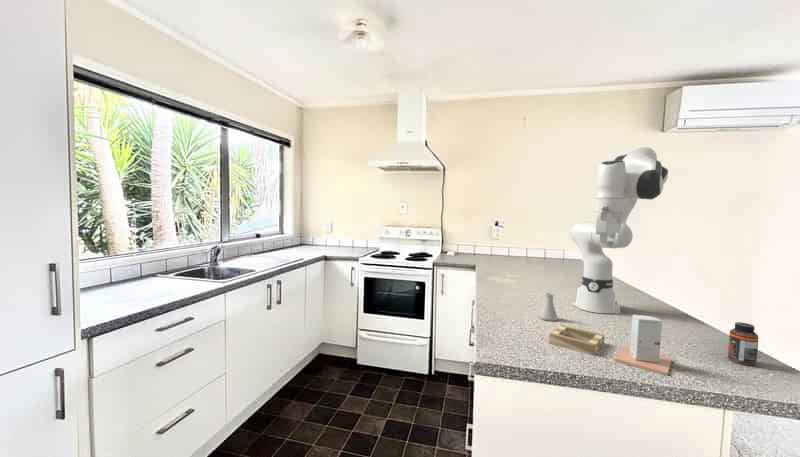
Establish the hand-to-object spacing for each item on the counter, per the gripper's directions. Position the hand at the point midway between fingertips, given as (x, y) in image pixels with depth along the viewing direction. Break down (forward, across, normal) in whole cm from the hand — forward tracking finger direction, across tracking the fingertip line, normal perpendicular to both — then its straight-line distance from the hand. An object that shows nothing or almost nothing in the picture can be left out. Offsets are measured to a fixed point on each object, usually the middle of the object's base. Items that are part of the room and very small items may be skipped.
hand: (607, 246), depth 118 cm
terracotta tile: (+31, -16, -14) cm, 38 cm away
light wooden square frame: (+31, -16, +4) cm, 35 cm away
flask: (+31, +4, +20) cm, 37 cm away
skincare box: (+30, -16, -14) cm, 37 cm away
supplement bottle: (+31, +5, -35) cm, 47 cm away
